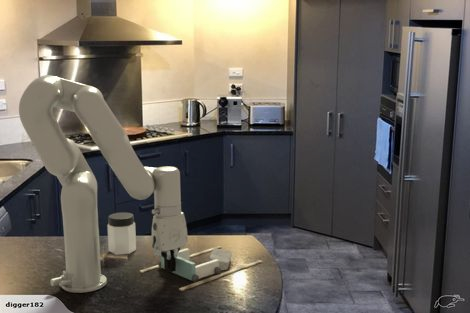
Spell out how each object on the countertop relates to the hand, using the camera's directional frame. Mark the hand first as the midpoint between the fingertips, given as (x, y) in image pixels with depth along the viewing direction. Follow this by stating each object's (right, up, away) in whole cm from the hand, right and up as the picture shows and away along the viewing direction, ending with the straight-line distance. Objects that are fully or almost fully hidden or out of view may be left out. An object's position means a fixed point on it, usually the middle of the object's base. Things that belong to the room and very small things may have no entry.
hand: (170, 270), depth 182 cm
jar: (-18, +2, +24) cm, 30 cm away
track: (+9, -1, +9) cm, 13 cm away
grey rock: (+14, -1, +10) cm, 18 cm away
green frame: (+5, -1, +5) cm, 7 cm away
